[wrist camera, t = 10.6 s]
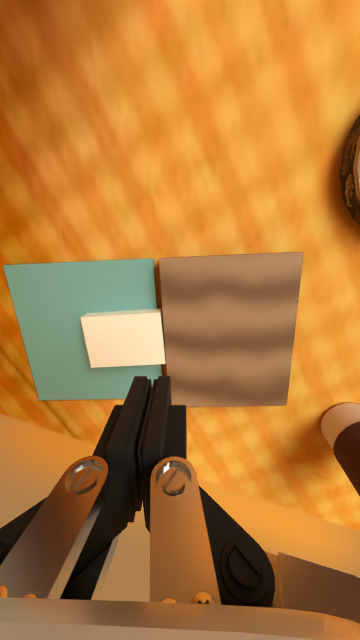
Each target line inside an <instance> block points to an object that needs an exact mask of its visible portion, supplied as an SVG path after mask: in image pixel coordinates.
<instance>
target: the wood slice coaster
mask: <svg viewBox="0 0 360 640" xmlns="http://www.w3.org/2000/svg"><path fill="white" fill-rule="evenodd" d="M339 178H340V185H341V193H342V199H343V201H344V203H345V205H346V207H347V209H348V211H349V213H350V215H351V217H352V218H353V219H354V220H355V221H356V222H357V223H359V224H360V115H359V117H358V118H357V119H356V121H355V123H354V125H353V127H352V129H351V132H350V134H349V136H348V139H347V141H346V143H345V146H344V148H343V153H342V160H341V166H340V173H339Z"/></svg>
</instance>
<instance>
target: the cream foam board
mask: <svg viewBox="0 0 360 640" xmlns="http://www.w3.org/2000/svg"><path fill="white" fill-rule="evenodd" d="M80 318H81V323H82V328H83V332H84V337H85V342H86V346H87V351H88V356H89V360H90V365H91V368H96V367H116V366H135V365H155V364H166V354H165V339H164V325H163V312H162V308H160V309H145V310H129V311H114V312H98V313H87V314H85V315H84V316H82V317H80Z"/></svg>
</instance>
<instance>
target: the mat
mask: <svg viewBox="0 0 360 640" xmlns="http://www.w3.org/2000/svg"><path fill="white" fill-rule="evenodd" d="M3 267H4V271H5V275H6V278H7V282H8V286H9V290H10V293H11V297H12V301H13V305H14V308H15V312H16V316H17V319H18V323H19V327H20V331H21V334H22V338H23V342H24V345H25V349H26V353H27V357H28V360H29V364H30V368H31V371H32V375H33V379H34V383H35V386H36V390H37V394H38V397H39V400H86V399H126V397H127V394H128V392H129V389H130V387H131V384H132V381H133V379H134V377H135V376H147V379H151V382H152V385H153V381H154V379H158V377H159V376H162V365H161V364H155V365H135V366H116V367H96V368H91V365H90V360H89V356H88V351H87V346H86V342H85V337H84V332H83V328H82V323H81V318H80V317H82V316H84V315H85V314H87V313H98V312H114V311H129V310H145V309H157V300H156V287H155V274H154V261H153V258H151V259H129V260H107V261H85V262H63V263H41V264H19V265H3Z"/></svg>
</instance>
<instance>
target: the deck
mask: <svg viewBox="0 0 360 640" xmlns="http://www.w3.org/2000/svg"><path fill="white" fill-rule="evenodd" d="M303 254H304V252H282V253H260V254H238V255H216V256H194V257H173V258H160V259H159V268H160V282H161V296H162V311H163V325H164V339H165V354H166V368H167V376H170V378H171V400H172V405H186V407H229V406H286V405H287V396H288V387H289V379H290V370H291V361H292V352H293V343H294V334H295V325H296V316H297V307H298V298H299V289H300V281H301V272H302V263H303Z"/></svg>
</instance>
